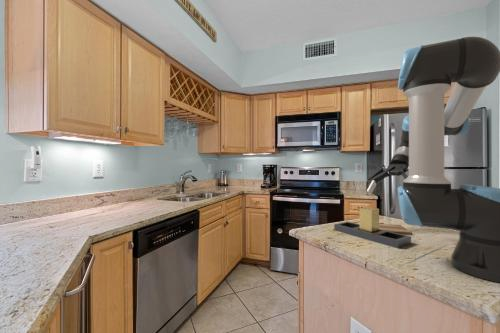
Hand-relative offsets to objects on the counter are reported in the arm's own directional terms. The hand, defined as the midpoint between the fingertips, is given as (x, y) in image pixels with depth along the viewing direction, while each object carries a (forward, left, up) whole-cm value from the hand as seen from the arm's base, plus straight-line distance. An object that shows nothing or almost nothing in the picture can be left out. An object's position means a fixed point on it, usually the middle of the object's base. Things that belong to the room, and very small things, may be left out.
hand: (384, 195), depth 99 cm
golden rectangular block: (-8, +8, -15) cm, 19 cm away
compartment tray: (-8, +8, -16) cm, 19 cm away
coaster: (+3, -3, -16) cm, 17 cm away
